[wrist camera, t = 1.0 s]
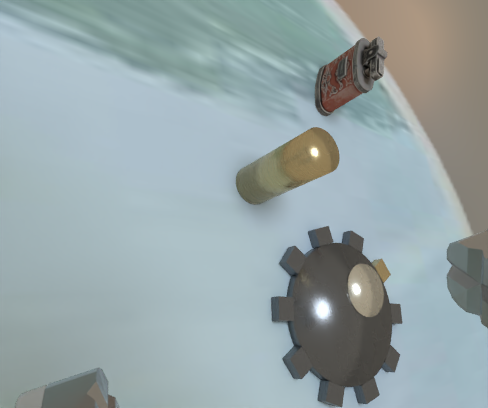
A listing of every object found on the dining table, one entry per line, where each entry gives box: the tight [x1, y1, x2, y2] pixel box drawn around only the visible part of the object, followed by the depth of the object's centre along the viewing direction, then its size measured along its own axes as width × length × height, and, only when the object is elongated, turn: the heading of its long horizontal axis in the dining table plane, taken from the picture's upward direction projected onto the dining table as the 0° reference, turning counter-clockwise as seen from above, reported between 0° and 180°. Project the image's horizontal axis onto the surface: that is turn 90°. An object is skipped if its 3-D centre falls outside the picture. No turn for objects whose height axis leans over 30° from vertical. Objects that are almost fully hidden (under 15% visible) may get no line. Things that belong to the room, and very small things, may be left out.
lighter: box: [315, 37, 387, 116], centre depth 55 cm, size 8×3×10 cm, turn 170°
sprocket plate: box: [272, 226, 402, 407], centre depth 49 cm, size 20×20×1 cm
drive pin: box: [236, 127, 339, 204], centre depth 43 cm, size 4×4×11 cm
